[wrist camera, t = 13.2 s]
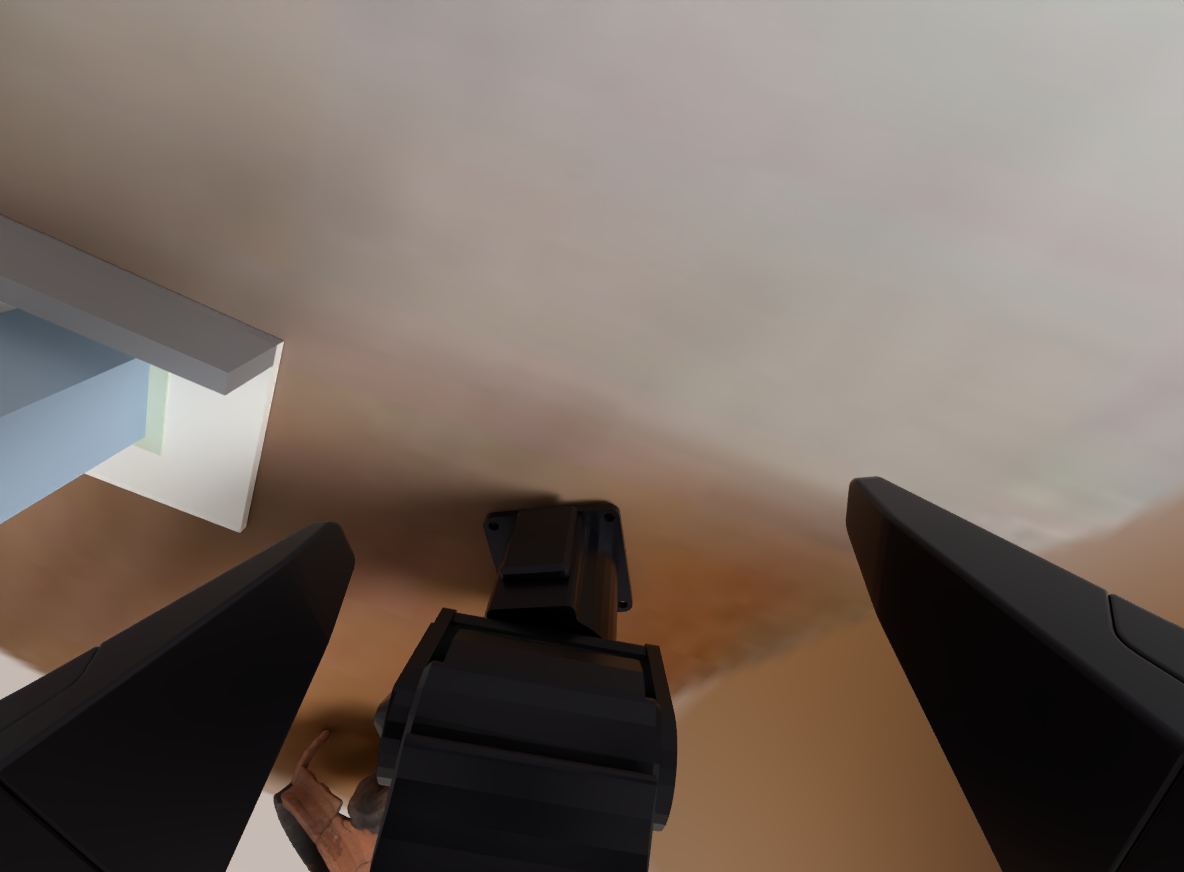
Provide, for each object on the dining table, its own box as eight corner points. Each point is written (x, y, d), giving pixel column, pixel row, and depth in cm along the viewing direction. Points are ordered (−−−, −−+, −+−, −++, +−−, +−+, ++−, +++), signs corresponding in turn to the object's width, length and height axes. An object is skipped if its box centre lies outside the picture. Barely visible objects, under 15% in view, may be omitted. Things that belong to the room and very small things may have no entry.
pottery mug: (437, 806, 40) (335, 919, 34) (363, 702, 41) (252, 792, 35) (503, 781, 32) (387, 921, 26) (409, 654, 34) (277, 758, 27)
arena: (283, 341, 22) (228, 372, 19) (246, 526, 27) (197, 575, 24) (-29, 201, 20) (-146, 212, 17) (-8, 428, 25) (-96, 468, 22)
